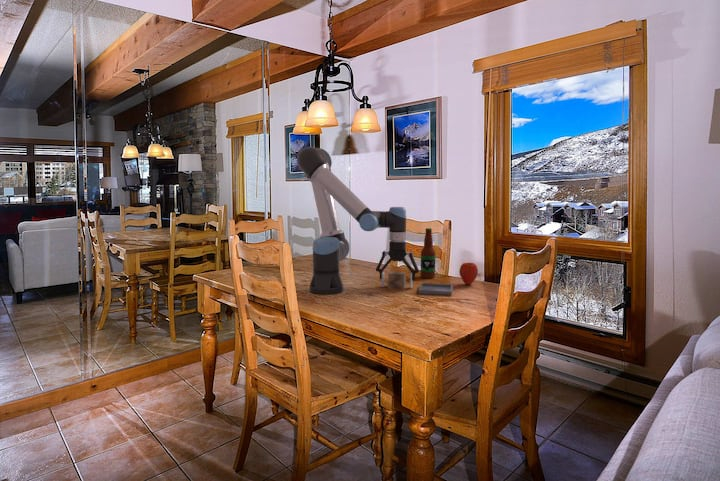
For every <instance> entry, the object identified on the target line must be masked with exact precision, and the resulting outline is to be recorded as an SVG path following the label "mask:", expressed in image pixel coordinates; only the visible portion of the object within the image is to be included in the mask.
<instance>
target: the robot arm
mask: <svg viewBox="0 0 720 481" xmlns="http://www.w3.org/2000/svg"><path fill="white" fill-rule="evenodd" d="M296 164H297V166H298V168H299V170H301V172H302V173H303V174H304V175H306V178H307V179H306V180H308V181H309V182H310V183H311V187H312V191H313V195H314V200H315V206H316V209H317V214H318V219H319V223H320V230H321V233H320V236H319V238H316V239H314V240H313V242H312V248H311V249H312V270H313V272H312V276H311V280H310V283H309V292H310V293H312V294H318V295H334V294H338V293H339V294H340V293H342V292H344V284H343V281H342V277H341V274H340V262H341V261H343V260H344V259H346V258H347V257H348V255H349V252H350V243H349V241H348V240H347V238H346V236H345V231H344V230H342V228H340V222H339V218H338V213H337V209H336V208H337V207H336V203H335V201H336V202H337V203H338V204H339V205H340V206H341V207H342V208H343V209H344V210H345V211H346V212H347V213H348V214H349V215H350V216H351V217H352V218H353V219H355V220H356V222H357V223H359V224H358V225H359V228H360V229H361V230H363V231H364V232H373V231H375V230H376V229H379V228H380V229H381V228H383V229H385V228H386V229H388V228H389V235H388V236H389V237H388V238H389V239H388V240H389V245H388V251H387V250H383V251H382V252H381V256H380V260H379V262H378V263H377V266H376V268H375V271H376V272H378V273H379V280H381V288H383V287H385V271H384V270H385V269H386V268H387V267H388V266H389V265H390V263H391V262H392V261H393V262H402V263H403V264H404V265H405V267H406V268H407V269H408V270H409V272H410V275H409V276H410V278H409V285H410V286H409V287H410V289H413V284H414V283H413V282H415V280H416V274H419V272H420V269H419V267H418V265H417V262H416V260H415V258H414V254H413V251H410V252H409V251H407V246H406V245H407V244H406V243H407V242H406V240H407V210H406V207H404V206H390V207H389V210H388V211H384V210H383V211H382V210H379V211H378V210H371V209H370V208H369V207H368V206H367V205H366V204H365V203H364V202H363V201H362V200H361V199H360V198H359V197H358V196H357V195H356V194H355V193H354V192H353V191H352V190H351V189H350V188H349V187H348V186H346V184H344V183H343V182H342V180H340V179H339V178H338V176H336V175H335V174H334V173H333V172H332V169H331V168H332V164H333V161H332V157H331V155H330V153H329V152H328V151H326V150H325V149H323V148H321V147H313V146H306V147H303V148H302V149H301V150H300V151H299V152H298V154H297V157H296ZM387 256H389V259H388V260H387V261H386V263H385V264H384V265H383V266H382V264H383V262H384V260H385V258H386V257H387ZM406 256H407V257H408V258H409V259H410V263H411V264H412V265H411V264H410V263H409V261H408V260H407V259H406Z"/></svg>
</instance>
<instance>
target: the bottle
mask: <svg viewBox="0 0 720 481" xmlns="http://www.w3.org/2000/svg"><path fill="white" fill-rule="evenodd" d="M432 230H433V228H431V227H427V228H425V232H424V234H425V235H424V241H423V248H422V250H421V251H420V277H421V278H422V279H427V280H429V279H430V280H431V279H434V278H435V276H436V250H435V249H434V247H433V245H434V244H433V243H434V242H433V235H432V233H433V231H432Z"/></svg>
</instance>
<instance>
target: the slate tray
mask: <svg viewBox="0 0 720 481" xmlns="http://www.w3.org/2000/svg"><path fill="white" fill-rule="evenodd" d="M452 293H453V284H451V283H450V284H449V283H435V282H434V283H433V282H432V283H431V282H428V283H427V282H421V284H420V286H419V288H418V295H430V296H431V295H432V296H449V297H450V296H451V297H452V295H453V294H452Z"/></svg>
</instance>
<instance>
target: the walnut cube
mask: <svg viewBox="0 0 720 481" xmlns="http://www.w3.org/2000/svg"><path fill="white" fill-rule="evenodd" d="M406 274H407V272H406V271H402V270H401V271H400V270H390V271H389V273H388V274H387V276H388V277H387V278H388V283H387V285H388V286H387V289H388V290H402V289H403V290H405V288H406V284H407V283H406V280H407V279H406V278H407V276H406Z"/></svg>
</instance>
